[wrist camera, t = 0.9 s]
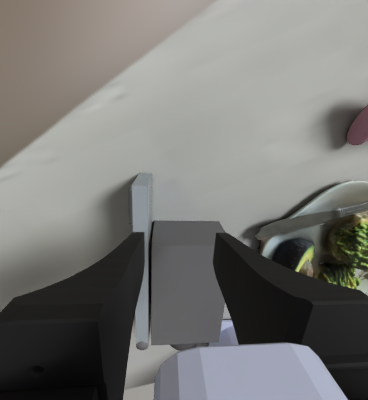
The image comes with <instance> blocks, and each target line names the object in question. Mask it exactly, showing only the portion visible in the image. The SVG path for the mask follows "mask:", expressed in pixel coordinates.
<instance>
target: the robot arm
mask: <svg viewBox="0 0 368 400" xmlns="http://www.w3.org/2000/svg"><path fill="white" fill-rule="evenodd" d="M144 265H145V235H144V232H133V233H132V234H131V235H130V236H129V237H128V238H127V239H125V240H124V241H123V242H122V243H121V244H120V245H119V246H118V247H117V248H116V249H114V250H113V251H112V252H111V253H109V254H108V255H107V256H106V257H104V258H103V259H101V260H100V261H98V262H97V263H95V264H93V265H92V266H90V267H89V268H87V269H85V270H83V271H81V272H79V273H77V274H75V275H73V276H71V277H69V278H67V279H65V280H63V281H60V282H58V283H55V284H53V285H51V286H48V287H45V288H43V289H40V290H37V291H34V292H31V293H28V294H25V295H22V296H19V297H15V298H13V299H12V300H11V302H10V303H9V304H8V305H7V306H6V307H5V308H4V309H3V310H2V311H1V312H0V400H123V393H124V385H125V377H126V369H127V361H128V354H129V346H130V339H131V332H132V325H133V319H134V314H135V310H136V306H137V302H138V298H139V294H140V289H141V285H142V281H143V274H144ZM213 267H214V271H215V275H216V279H217V282H218V284H219V287H220V290H221V292H222V295H223V298H224V300H225V303H226V305H227V308H228V311H229V313H230V316H231V319H232V320H222V325H221V332H220V339H219V342H212V343H209V346H201V347H195V348H190V349H186V350H182V351H179V352H177V353H176V354H175V355H173V356H172V357H170V358H169V359H168V360H166V361H165V362H164V363H163V364H162V365H161V366H160V368H159V371H158V373H157V376H156V378H155V387H154V400H368V296H367V295H366V294H365V293H364V292H362V291H361V290H357V289H353V288H349V287H345V286H341V285H337V284H333V283H329V282H326V281H323V280H320V279H316V278H313V277H310V276H307V275H304V274H302V273H299V272H297V271H294V270H292V269H289V268H287V267H284V266H282V265H280V264H278V263H276V262H274V261H272V260H270V259H268V258H266V257H264V256H263V255H261V254H259V253H257V252H256V251H254V250H252V249H251V248H249V247H248V246H246V245H245V244H243V243H242V242H240V241H239V240H237V239H236V238H234V237H233V236H231V235H230V234H228V233H216V237H215V246H214V255H213Z"/></svg>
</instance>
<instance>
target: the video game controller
mask: <svg viewBox="0 0 368 400" xmlns="http://www.w3.org/2000/svg"><path fill="white" fill-rule="evenodd" d="M346 139H347V141H348V142H349V143H350V144H352V145H359V144H362V143H364V142H366V141H367V140H368V105H367V106H366V107H365V108H364V109H363V110H362V111H361V113H360V114H359V115H358V116H357V118H356V119H355V120H354V122H353V123H352V125H351V127H350V128H349V130H348V134H347V138H346Z"/></svg>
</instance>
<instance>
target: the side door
mask: <svg viewBox="0 0 368 400" xmlns="http://www.w3.org/2000/svg"><path fill="white" fill-rule="evenodd" d="M129 217H130V224H133V232H144V235H145V265H144V274H143V281H142V285H141V289H140V294H139V298H138V302H137V306H136V310H135V321H136V347H137V349H139V350H145V349H147V348H148V343H149V330H150V318H151V277H152V174H147V173H139V175H138V176H137V178H136V180H135V181H134V182H133V184H132V185H131V187H130V189H129Z"/></svg>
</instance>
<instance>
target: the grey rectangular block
mask: <svg viewBox="0 0 368 400" xmlns="http://www.w3.org/2000/svg"><path fill="white" fill-rule="evenodd" d="M216 233H225V231H224V229H223V228H222V226H221V224H220V222H214V221H155V222H154V229H153V237H152V297H151V345H169V344H170V345H171V346H172V347H173V348H175V349H177V350H180V351H182V350H186V349H190V348H194V347H195V346H196V345H197V344H198V343H212V342H219V339H220V332H221V325H222V318H223V312H224V305H225V300H224V298H223V295H222V292H221V290H220V287H219V284H218V282H217V279H216V275H215V271H214V267H213V255H214V246H215V237H216Z"/></svg>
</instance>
